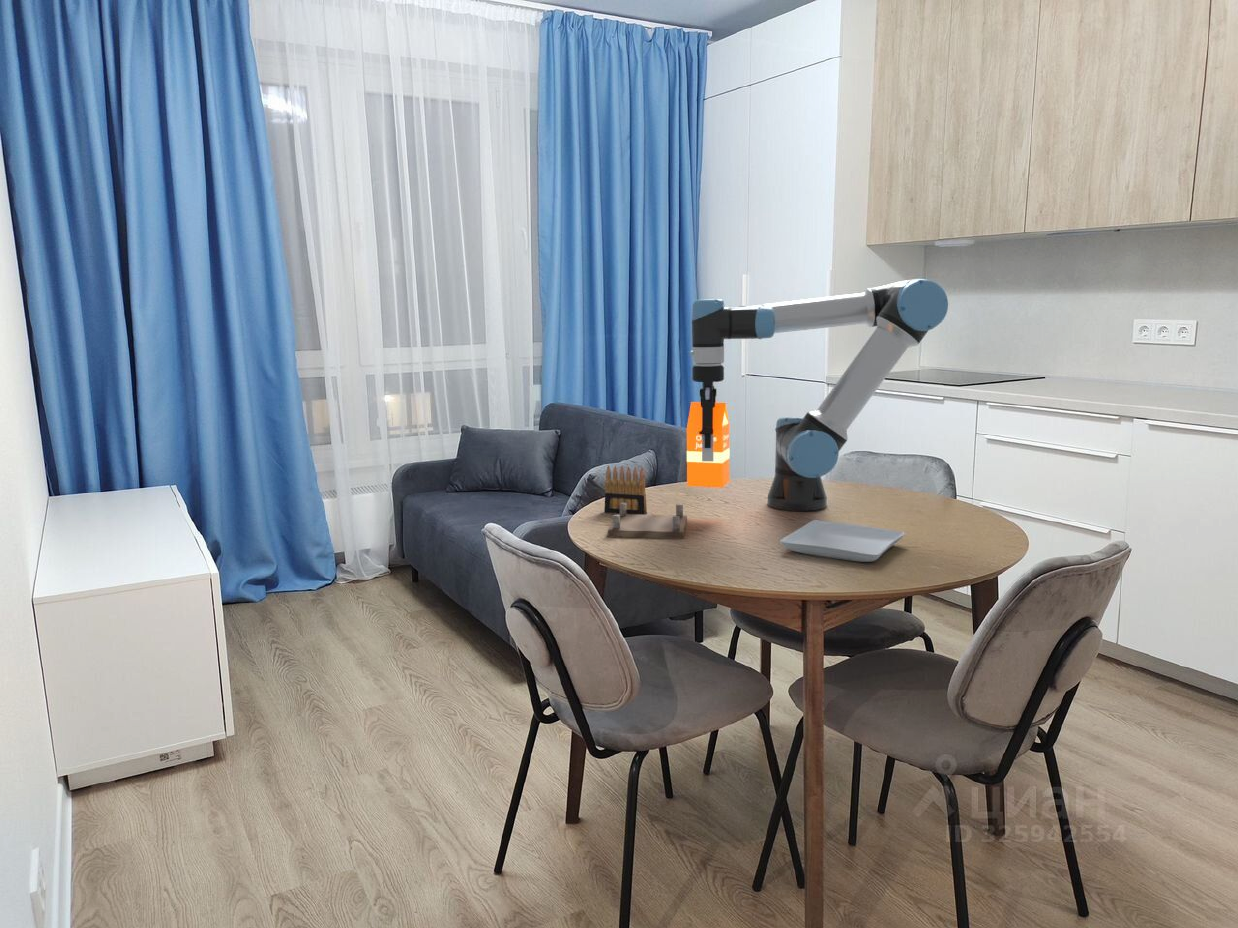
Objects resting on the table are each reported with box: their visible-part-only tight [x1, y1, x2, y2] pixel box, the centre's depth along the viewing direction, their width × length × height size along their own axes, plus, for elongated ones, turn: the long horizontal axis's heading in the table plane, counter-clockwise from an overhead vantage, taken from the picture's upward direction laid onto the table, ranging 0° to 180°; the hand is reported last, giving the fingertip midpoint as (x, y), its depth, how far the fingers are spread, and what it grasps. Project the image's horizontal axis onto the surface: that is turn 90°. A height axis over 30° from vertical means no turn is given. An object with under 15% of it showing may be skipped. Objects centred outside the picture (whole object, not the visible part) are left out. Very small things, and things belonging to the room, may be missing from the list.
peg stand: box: [607, 503, 688, 539], centre depth 212 cm, size 17×16×4 cm
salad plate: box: [779, 519, 906, 563], centre depth 194 cm, size 21×21×3 cm
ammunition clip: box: [604, 465, 648, 515], centre depth 228 cm, size 11×2×12 cm, turn 71°
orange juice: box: [686, 401, 731, 489], centre depth 220 cm, size 8×9×20 cm
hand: (708, 457), depth 221 cm, fingers closed on orange juice, 9 cm apart
